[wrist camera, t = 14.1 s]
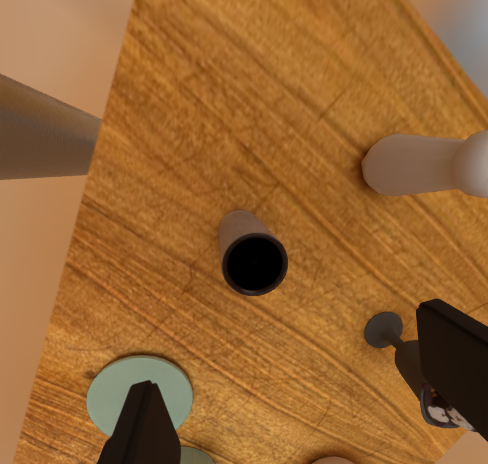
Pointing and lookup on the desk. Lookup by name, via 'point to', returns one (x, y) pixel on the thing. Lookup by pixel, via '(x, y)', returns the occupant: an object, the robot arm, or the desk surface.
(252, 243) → the grey tube
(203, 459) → the pot
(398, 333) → the sundae
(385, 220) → the desk surface
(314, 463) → the decorative egg
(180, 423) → the lid
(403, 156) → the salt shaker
